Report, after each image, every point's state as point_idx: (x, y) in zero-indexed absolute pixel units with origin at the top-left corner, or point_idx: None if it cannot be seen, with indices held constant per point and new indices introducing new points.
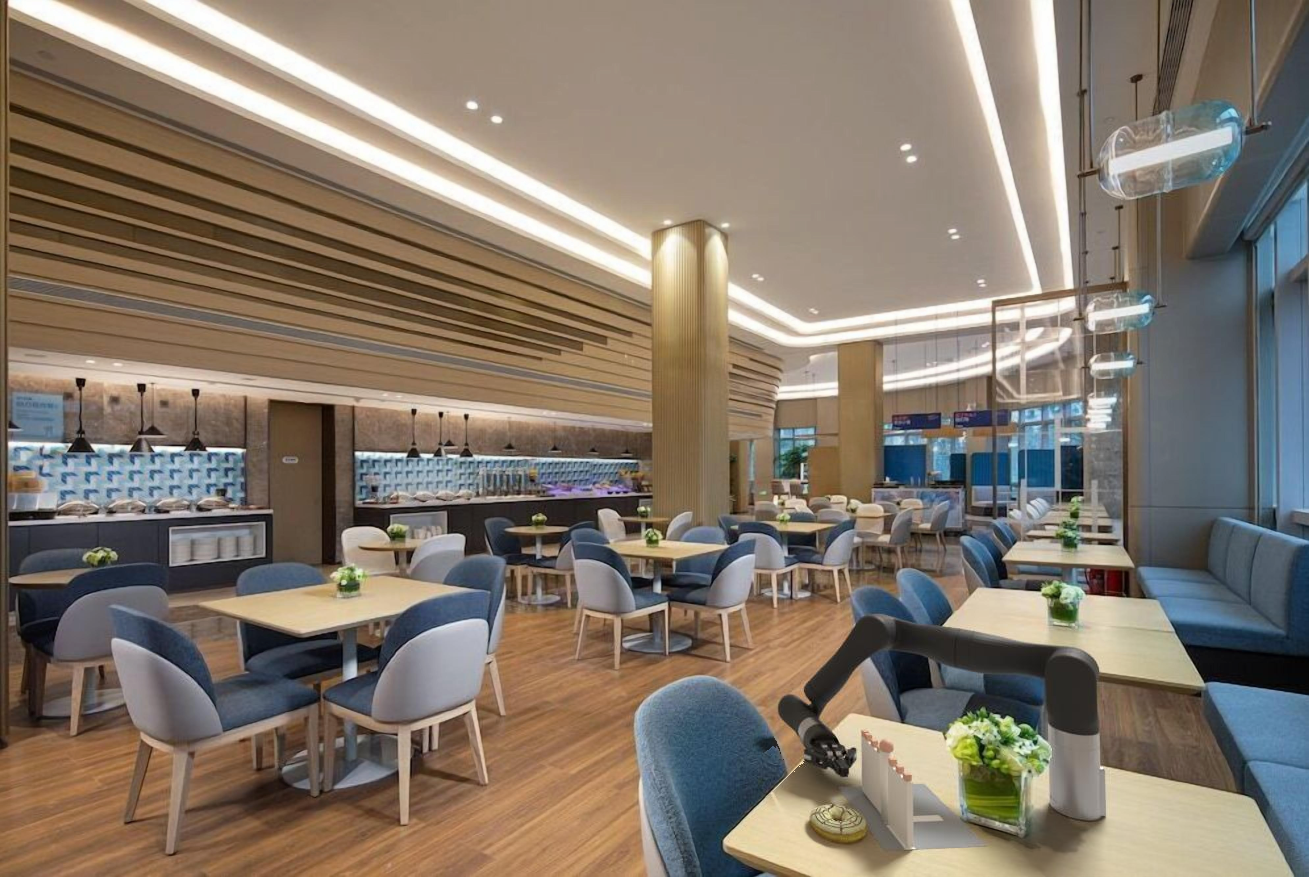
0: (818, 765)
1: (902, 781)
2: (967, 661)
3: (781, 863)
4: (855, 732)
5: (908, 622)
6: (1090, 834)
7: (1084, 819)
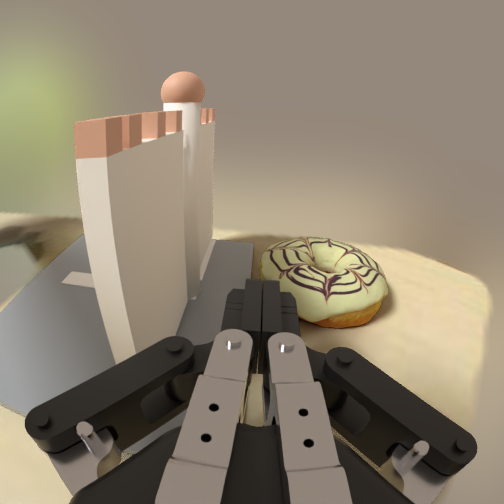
0: (364, 413)
1: (211, 129)
2: None
3: (418, 255)
4: None
5: None
6: None
7: None
